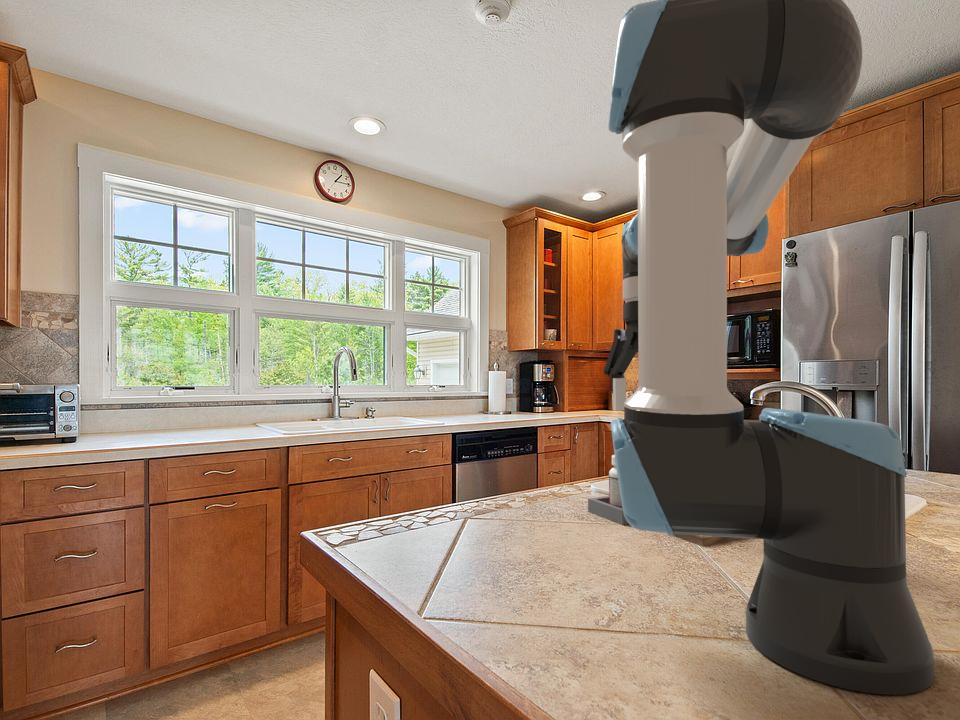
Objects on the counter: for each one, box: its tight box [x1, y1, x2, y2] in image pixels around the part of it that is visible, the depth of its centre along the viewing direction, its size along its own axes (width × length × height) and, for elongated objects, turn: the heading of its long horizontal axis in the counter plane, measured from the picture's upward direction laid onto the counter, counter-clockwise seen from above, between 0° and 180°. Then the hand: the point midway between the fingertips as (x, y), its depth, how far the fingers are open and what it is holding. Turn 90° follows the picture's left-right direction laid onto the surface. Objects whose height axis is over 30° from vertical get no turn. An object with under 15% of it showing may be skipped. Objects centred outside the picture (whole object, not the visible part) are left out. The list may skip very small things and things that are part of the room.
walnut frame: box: [674, 534, 740, 547], centre depth 89 cm, size 11×11×1 cm
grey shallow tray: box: [587, 495, 630, 525], centre depth 102 cm, size 20×10×2 cm, turn 115°
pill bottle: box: [608, 454, 623, 509], centre depth 100 cm, size 6×6×11 cm
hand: (644, 412), depth 98 cm, fingers open, 13 cm apart
